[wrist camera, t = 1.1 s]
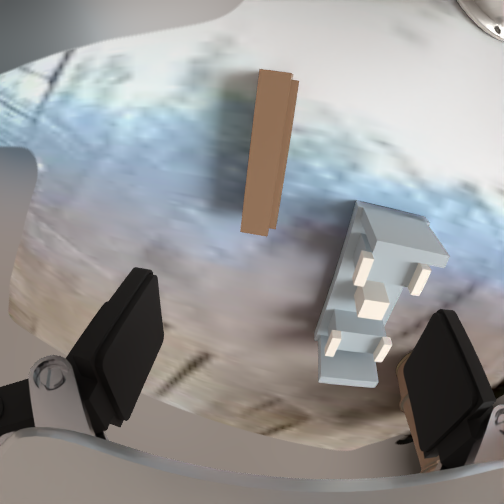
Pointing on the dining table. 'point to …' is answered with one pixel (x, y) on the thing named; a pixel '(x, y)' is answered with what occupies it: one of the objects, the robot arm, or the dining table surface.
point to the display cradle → (372, 290)
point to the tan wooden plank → (268, 150)
